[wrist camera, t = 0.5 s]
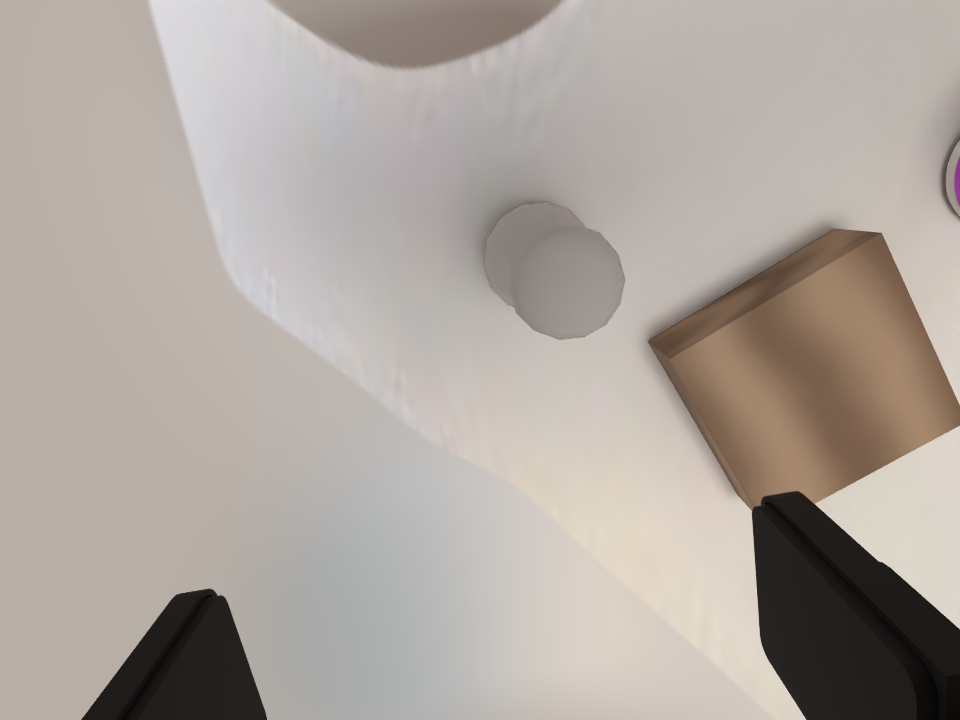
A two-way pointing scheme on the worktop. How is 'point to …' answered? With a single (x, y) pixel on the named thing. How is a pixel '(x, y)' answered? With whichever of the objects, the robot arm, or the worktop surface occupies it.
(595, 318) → the salt shaker
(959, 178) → the supplement bottle
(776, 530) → the robot arm
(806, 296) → the walnut riser block
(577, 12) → the worktop surface
